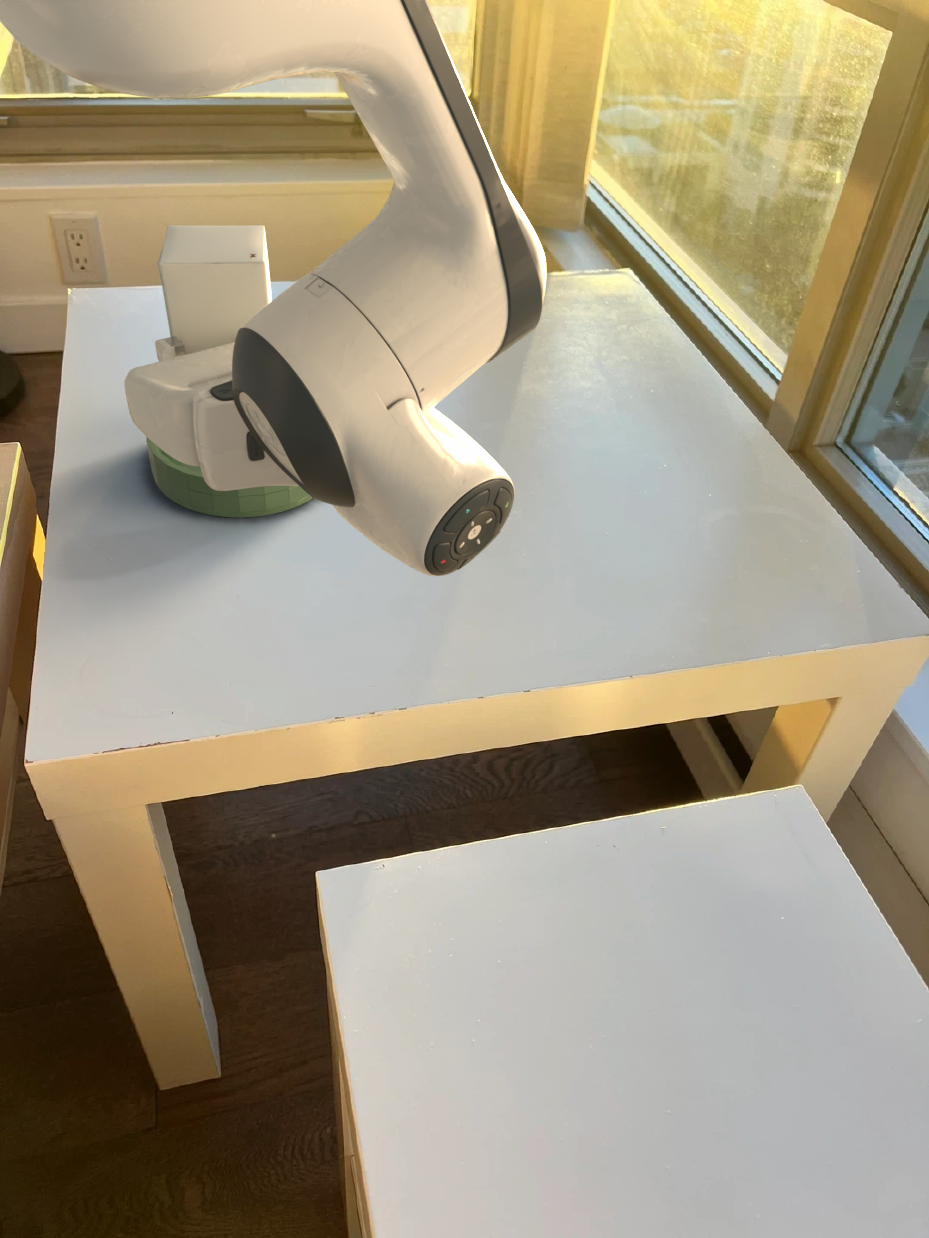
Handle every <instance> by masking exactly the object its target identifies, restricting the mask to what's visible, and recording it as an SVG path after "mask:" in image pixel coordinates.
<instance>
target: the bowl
mask: <svg viewBox="0 0 929 1238" xmlns="http://www.w3.org/2000/svg"><path fill="white" fill-rule="evenodd" d="M145 437H146V436H145ZM145 439H146V440H145V441H146V448H147V452H148V457H149V463H150V470H151V474H152V475H153V479H154V482H155V485H156V486H157V487H158V489H159V491H160V492H161V493H163V495H164V496H165V497H166V498H168V499H169V500H170V501H172V502H173V503H175V504H177V505H179V506H181V507H183V508H186V509H188V510H190V511H192V512H196V513H199V514H202V515H203V514H204V515H208V516H214V517H223V518H255V517H263V516H269V515H274V514H279V513H282V512H286V511H289V510H291V509H295V508H297V507H300V506H301V505H303V504H305V503H308V502H309V501H310V502H311V500H314V499H313V498H312V497H311V496H310V495H309V494H308V493H307V492H306V491H304V490H303V489H302V488H301V487H300V486H285V485H280V486H261V487H251V488H243V489H236V490H229V491H217V490H214V489H212V488H211V487H209V486H208V485H207V484H206V482H205V481H204V478H203V475H202V471H201V468H200V466H191V465H187V464H184V463H181V462H179V461H177V460H175V459H174V458H172V457H171V456H169V455H168V454H167V453H165V452H164V451H163V450H161V449H160V448H159V447H158V446H157V445H155V444H154V443H153V442H152V441H151V440H150V439H148V438H147V437H146V438H145Z"/></svg>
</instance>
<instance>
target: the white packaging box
mask: <svg viewBox="0 0 929 1238" xmlns="http://www.w3.org/2000/svg"><path fill="white" fill-rule="evenodd" d="M166 227H167V228H166V233H165V236H164V240H163V245H162V247H161V251H160V253H159V256H158V257H159V258H158V261H157V263H156V264H157V269H158V273H159V278H160V283H161V289H162V294H163V299H164V305H165V312H166V318H167V323H168V330H169V337H173V336H176V337H177V339H178V340H181V341H182V342H183V343H184V345H185V354H184V355H187V354H190V353H194V352H198V351H202V350H206V349H209V348H213V347H217V346H221V345H225V344H228V343H232V342H235V339H236V336H237V333H238V330H239V329H240V328H243V327H244V326H245V325H246V324H247V323H248V322H249V321H250V320H251V319H252V318H253V317H254V316H255V315H256V314H257V313H259V312H260V311H261V310H262V309H263V308H264V307H266V306H267V305H268V304H269V303H270V302H272V301H273V298H272V297H273V296H272V283H271V275H270V273H271V272H270V263H269V255H268V254H269V253H268V244H267V237H266V236H267V235H266V228H265V225H264V224H263V225H261V224H259V225H258V224H257V225H255V224H254V225H173V224H172V225H169V224H168V225H167V226H166Z"/></svg>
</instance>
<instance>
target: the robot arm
mask: <svg viewBox="0 0 929 1238" xmlns="http://www.w3.org/2000/svg"><path fill="white" fill-rule="evenodd" d="M0 23H1V24H2V25H3V26H4V28H5V29H6V30H7V31H8V33H10V34H11V36H12V37H13V38H14V39H15V40H16V41H17V42H18V43H19V45H21V46H22V47H23V48H24V49H26V50H27V51H28V52H29V53H31V54H32V55H34V57H37V58H38V59H40V60H41V61H43V62H44V63H46V64H47V65H49V66H50V67H53V68H54V69H56V70H58V71H59V72H61V73H63V74H65V75H67V76H69V77H71V78H72V79H76V80H78V81H81V82H83V83H85V84H88V85H90V86H93V87H96V88H99V89H102V90H106V91H111V92H116V93H119V94H125V95H129V96H135V97H136V96H137V97H142V98H143V97H146V98H158V99H191V98H192V99H193V98H203V97H209V96H210V97H211V96H217V95H222V94H226V93H230V92H234V91H237V90H240V89H244V88H247V87H251V86H254V85H259V84H262V83H266V82H269V81H275V80H279V79H283V78H289V77H293V76H301V75H307V74H315V73H316V74H317V73H334V75H335V77H336V78H337V80H338V81H339V83H340V86H341V87H342V89H343V90H344V93H345V94H346V96H347V98H348V99H349V102H350V103H351V105H352V106H353V108H354V110H355V112H356V114H357V115H358V117H359V119H360V121H361V123H362V125H363V127H364V128H365V130H366V131H367V133H368V135H369V137H370V139H371V140H372V142H373V144H374V146H375V148H376V149H377V151H378V153H379V155H380V157H381V158H382V160H383V162H384V164H385V165H386V168H387V169H388V171H389V173H390V175H391V176H392V179H393V184H392V188H391V191H390V194H389V196H388V198H387V200H386V202H385V203H384V205H383V207H382V208H381V209H380V211H379V212H378V214H377V215H376V216H375V217H374V218H373V219H372V220H371V222H370V223H369V224H367V225H366V226H364V228H362V229H361V230H360V231H359V232H357V233H356V234H355V235H353V237H351V238H350V239H349V240H347V241H346V242H345V243H344V244H343V245H341V246H340V247H339V248H338V249H336V250H335V251H334V252H333V253H331V254H330V255H329V256H328V257H326V258H325V259H324V260H323V261H322V262H321V263H319V264H317V266H316V267H315V268H313V269H312V270H311V271H309V272H308V273H306V274H303V275H302V276H301V277H300V278H299V279H297V280H296V281H295V282H293V283H292V284H291V285H290V286H289V287H287V288H286V289H285V290H283V291H282V292H281V293H280V294H279V295H278V296H276V297H275V298H274V299H272V302H270V303H269V304H268V305H267V306H266V307H264V308H263V309H262V310H261V311H260V312H259V313H257V314H256V315H255V316H254V317H253V318H252V319H251V320H250V321H249V322H248V323H247V324H246V325H245V326H244V327H243V328H240V329H239V330H238V333H237V336H236V339H235V342H232V343H228V344H225V345H221V346H217V347H213V348H209V349H206V350H202V351H198V352H194V353H190V354H187V355H184V354H185V345H184V343H183V342H182V341H181V340H178V339H177V337H176V336H173V337H170V336H169V337H165V338H160V339H156V340H155V341H154V346H155V351H156V352H155V353H156V358H157V360H158V361H156V362H152V363H149V364H144V365H140V366H136V367H133V368H132V369H130V370H129V371H128V373H127V374H126V376H125V379H124V392H125V399H126V403H127V408H128V411H129V415H130V418H131V420H132V423H133V424H134V425H135V426H136V428H137V430H139V431H140V432H141V433H142V434H143V435H144V436H145V437H147V438H148V439H150V440H151V441H152V442H153V443H154V444H155V445H157V446H158V447H159V448H160V449H161V450H163V451H164V452H165V453H167V454H168V455H169V456H171V457H172V458H174V459H175V460H177V461H179V462H181V463H184V464H187V465H191V466H200V468H201V471H202V475H203V478H204V481H205V482H206V484H207V485H208V486H209V487H211V488H212V489H214V490H217V491H229V490H236V489H243V488H251V487H261V486H280V485H285V486H300V487H301V488H302V489H303V490H304V491H306V492H307V493H308V494H309V495H310V496H311V497H312V498H313V499H312V500H316V501H318V502H322V503H326V504H329V505H331V506H333V509H335V511H336V512H337V513H338V514H339V516H341V517H342V519H344V520H345V521H346V522H347V523H348V524H350V525H351V526H352V527H353V528H354V529H355V530H357V532H359V533H360V534H361V535H363V536H364V537H365V538H366V539H368V541H370V542H371V543H373V544H374V545H376V546H377V547H378V548H379V549H381V550H382V551H384V552H385V553H387V554H388V555H389V556H391V557H393V558H395V559H396V560H398V561H399V562H401V563H403V564H404V565H406V566H408V567H409V568H411V569H413V570H415V571H417V572H419V573H421V574H424V575H427V576H430V577H442V576H447V575H450V574H452V573H454V572H456V571H459V570H461V569H462V568H464V567H465V566H466V565H468V564H469V563H470V562H472V560H474V559H475V558H476V557H478V555H480V554H481V553H482V552H483V551H485V549H486V548H487V547H488V546H490V544H491V543H492V542H493V541H494V540H495V539H496V538H497V537H498V535H499V534H500V533H501V530H502V529H503V527H504V526H505V524H506V522H507V521H508V518H509V517H510V514H511V511H512V509H513V504H514V502H515V495H516V493H515V491H516V490H515V486H514V483H513V481H512V479H511V477H510V476H509V475H508V473H507V472H506V470H505V469H504V468H503V467H502V465H500V464H499V463H498V462H497V461H496V460H495V459H494V458H493V457H492V455H490V454H489V453H488V452H487V451H486V450H485V449H484V448H483V447H482V446H481V445H480V444H479V443H478V442H477V441H476V440H474V439H473V438H472V437H471V435H469V434H468V433H467V432H466V431H465V430H463V429H462V428H461V427H459V426H458V425H457V424H456V423H454V421H452V420H451V419H450V418H448V417H447V416H446V415H444V414H443V413H442V412H440V411H439V410H438V409H437V408H435V406H438V404H439V403H440V402H441V401H443V400H444V399H445V398H446V397H447V396H449V395H450V394H451V393H452V392H453V391H455V389H457V387H459V386H460V385H461V384H463V383H464V382H465V381H466V380H467V379H468V378H469V377H470V376H472V375H473V374H474V373H475V372H476V371H478V370H479V369H480V368H481V367H482V366H484V365H485V364H486V363H490V362H491V361H493V360H495V359H496V358H497V357H499V356H500V355H501V354H503V353H504V352H505V351H507V350H508V349H510V348H511V347H513V346H514V345H515V344H517V343H519V341H521V340H522V339H524V338H525V337H527V336H528V335H530V333H532V332H533V331H534V330H535V329H536V328H537V326H538V325H539V323H540V319H541V318H542V317H541V316H542V313H543V307H544V301H545V295H546V286H547V262H546V261H547V260H546V255H545V252H544V249H543V246H542V244H541V241H540V239H539V237H538V235H537V233H536V231H535V229H534V227H533V225H532V224H531V222H530V220H529V219H528V217H527V215H526V214H525V211H523V209H522V207H521V206H520V204H519V202H518V201H517V199H516V198H515V196H514V194H513V193H512V191H511V189H510V188H509V186H508V185H507V183H506V180H504V177H503V175H502V173H501V172H500V169H499V167H498V165H497V162H496V160H495V158H494V156H493V154H492V151H491V147H490V146H489V144H488V142H487V139H486V137H485V134H484V132H483V130H482V127H481V125H480V123H479V121H478V119H477V118H478V117H477V115H476V114H475V111H474V108H473V106H472V104H471V101H470V99H469V96H468V95H467V92H466V89H465V87H464V85H463V82H462V80H461V77H460V76H459V73H458V71H457V68H456V66H455V64H454V61H453V59H452V57H451V54H450V52H449V49H448V47H447V44H446V42H445V40H444V38H443V35H442V33H441V30H440V28H439V26H438V23H437V21H436V19H435V16H434V14H433V12H432V10H431V7H430V5H429V3H428V1H427V0H0Z"/></svg>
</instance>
